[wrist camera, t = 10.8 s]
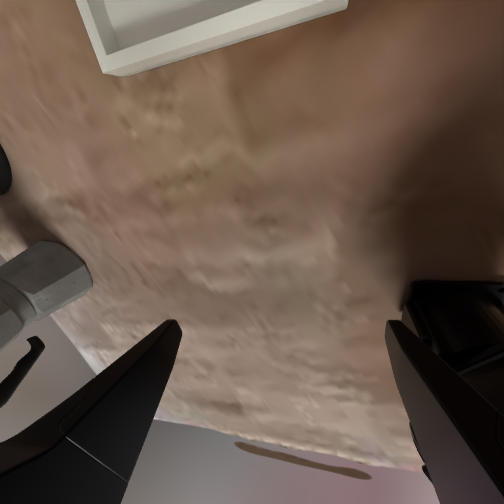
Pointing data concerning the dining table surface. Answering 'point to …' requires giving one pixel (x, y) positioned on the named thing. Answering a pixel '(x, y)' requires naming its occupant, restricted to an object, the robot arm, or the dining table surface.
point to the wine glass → (4, 172)
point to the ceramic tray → (184, 27)
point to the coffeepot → (36, 298)
